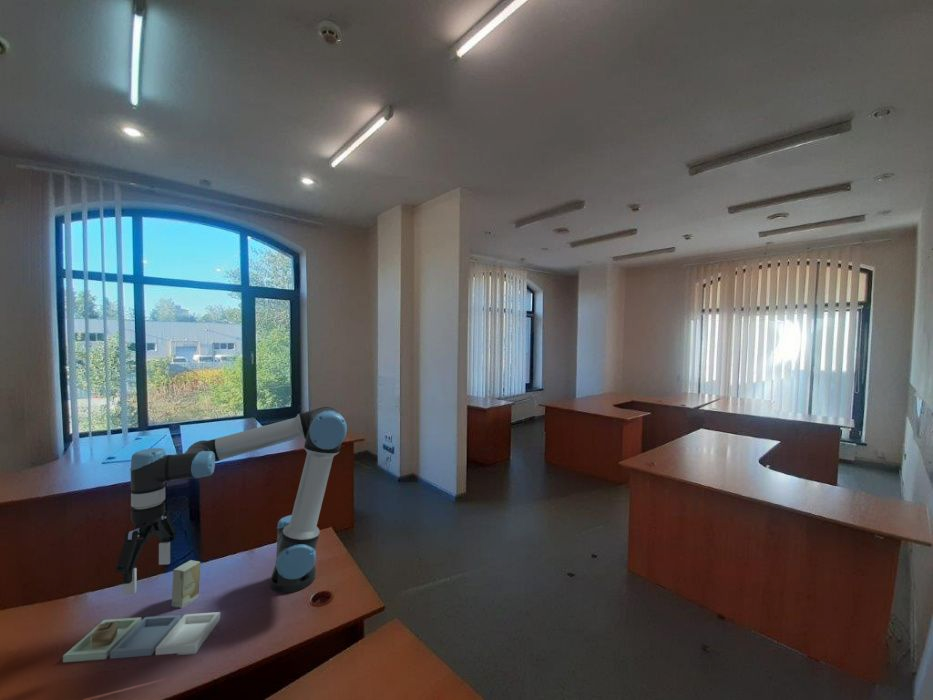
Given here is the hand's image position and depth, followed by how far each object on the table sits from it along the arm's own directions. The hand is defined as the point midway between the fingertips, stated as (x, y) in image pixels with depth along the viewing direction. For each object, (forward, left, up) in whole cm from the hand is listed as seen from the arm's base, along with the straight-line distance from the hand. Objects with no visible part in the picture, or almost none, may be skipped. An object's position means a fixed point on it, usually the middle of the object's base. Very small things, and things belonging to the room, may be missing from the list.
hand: (148, 577), depth 106 cm
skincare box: (-2, -16, -18) cm, 24 cm away
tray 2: (-1, 0, -18) cm, 18 cm away
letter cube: (+10, 0, -17) cm, 20 cm away
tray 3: (-12, 0, -18) cm, 21 cm away
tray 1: (+10, 0, -18) cm, 21 cm away
